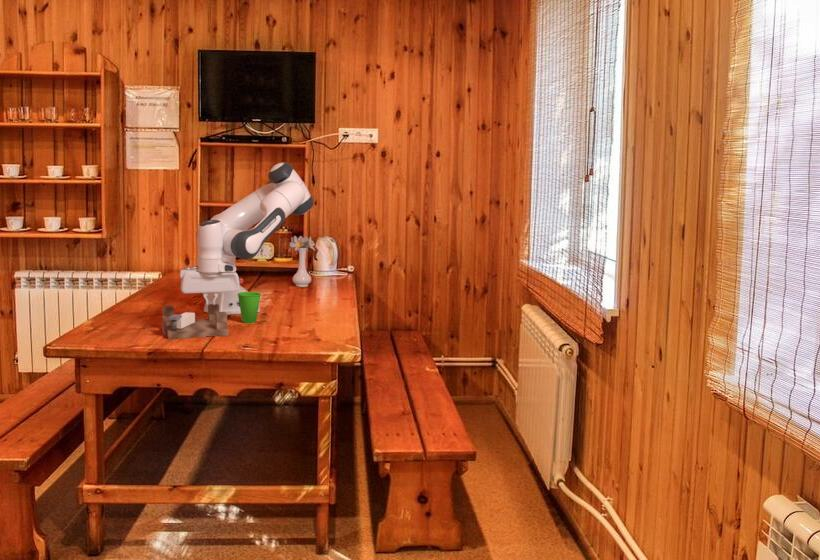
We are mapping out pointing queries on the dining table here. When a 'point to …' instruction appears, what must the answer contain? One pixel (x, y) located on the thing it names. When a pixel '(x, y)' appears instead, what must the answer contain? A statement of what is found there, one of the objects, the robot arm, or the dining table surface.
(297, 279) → the flower vase
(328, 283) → the dining table surface
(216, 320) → the stool board
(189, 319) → the hinged leg
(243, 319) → the cup
